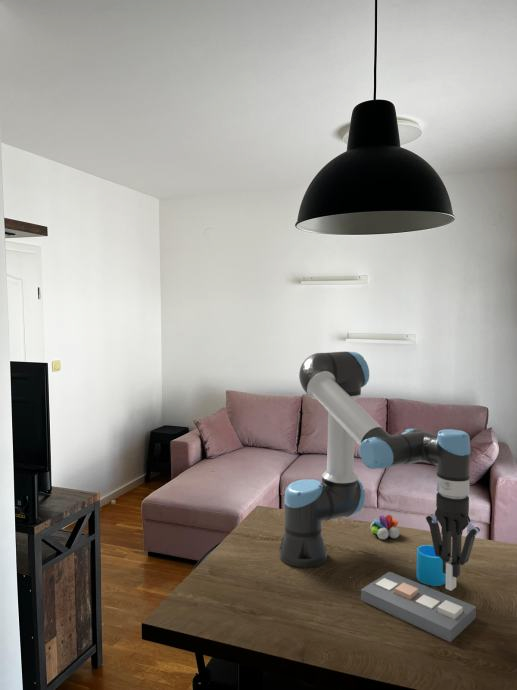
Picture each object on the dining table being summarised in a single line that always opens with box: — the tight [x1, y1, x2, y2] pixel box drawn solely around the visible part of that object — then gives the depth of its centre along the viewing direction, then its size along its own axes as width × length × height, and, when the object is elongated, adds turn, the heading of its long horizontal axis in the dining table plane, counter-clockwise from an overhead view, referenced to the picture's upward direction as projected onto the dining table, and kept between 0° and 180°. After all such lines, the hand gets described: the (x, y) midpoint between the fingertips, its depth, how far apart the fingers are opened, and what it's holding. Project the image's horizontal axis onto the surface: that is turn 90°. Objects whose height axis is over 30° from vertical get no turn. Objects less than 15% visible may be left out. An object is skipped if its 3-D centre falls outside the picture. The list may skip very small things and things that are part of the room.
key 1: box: [375, 578, 398, 592], centre depth 142 cm, size 4×4×3 cm
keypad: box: [360, 571, 477, 643], centre depth 136 cm, size 25×14×3 cm, turn 44°
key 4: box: [437, 600, 463, 620], centre depth 129 cm, size 4×4×3 cm
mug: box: [416, 544, 446, 587], centre depth 153 cm, size 12×8×8 cm
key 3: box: [415, 595, 440, 610], centre depth 134 cm, size 4×4×3 cm
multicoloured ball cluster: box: [369, 514, 400, 540], centre depth 181 cm, size 8×10×7 cm
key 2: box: [395, 583, 418, 600], centre depth 138 cm, size 4×4×3 cm
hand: (450, 587), depth 129 cm, fingers closed
